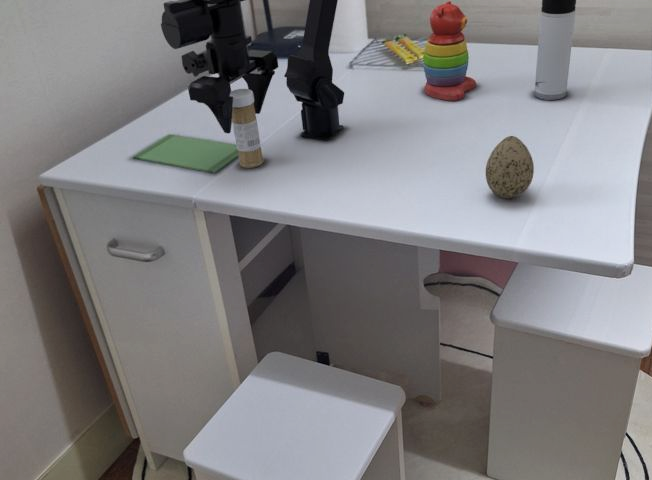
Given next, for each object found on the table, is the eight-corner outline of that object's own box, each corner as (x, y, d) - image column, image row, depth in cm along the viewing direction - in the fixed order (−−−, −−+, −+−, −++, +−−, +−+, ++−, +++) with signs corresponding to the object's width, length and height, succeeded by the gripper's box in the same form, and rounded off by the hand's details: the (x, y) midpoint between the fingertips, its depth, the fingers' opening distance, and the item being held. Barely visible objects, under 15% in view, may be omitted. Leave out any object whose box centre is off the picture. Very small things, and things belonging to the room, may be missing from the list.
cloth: (249, 148, 133) (248, 146, 133) (214, 173, 125) (214, 171, 125) (169, 136, 142) (168, 134, 141) (132, 158, 134) (132, 156, 134)
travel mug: (531, 100, 140) (540, -4, 128) (536, 88, 145) (545, -13, 133) (564, 101, 138) (575, -4, 126) (567, 90, 143) (579, -13, 131)
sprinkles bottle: (260, 156, 129) (249, 85, 122) (266, 165, 126) (255, 93, 118) (236, 161, 128) (223, 91, 121) (242, 171, 125) (229, 98, 117)
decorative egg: (477, 190, 111) (479, 132, 105) (518, 182, 112) (523, 124, 106) (496, 210, 105) (499, 150, 100) (539, 202, 106) (545, 141, 100)
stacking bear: (459, 102, 142) (460, 12, 132) (414, 96, 147) (413, 9, 137) (479, 84, 150) (482, -2, 140) (436, 80, 155) (435, -4, 144)
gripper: (222, 15, 124) (236, 99, 133) (153, 46, 111) (174, 137, 120) (274, 18, 119) (285, 105, 128) (208, 51, 106) (225, 146, 115)
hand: (242, 122), depth 123 cm, fingers open, 9 cm apart
